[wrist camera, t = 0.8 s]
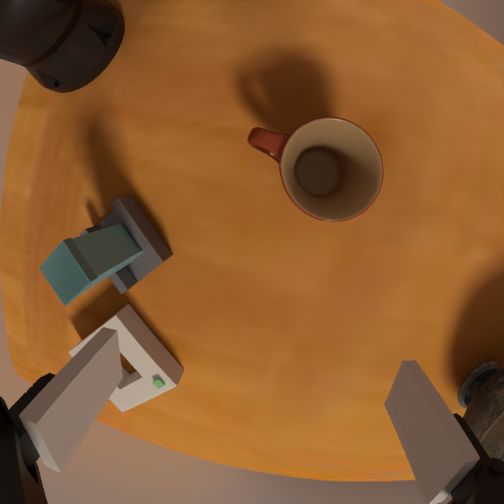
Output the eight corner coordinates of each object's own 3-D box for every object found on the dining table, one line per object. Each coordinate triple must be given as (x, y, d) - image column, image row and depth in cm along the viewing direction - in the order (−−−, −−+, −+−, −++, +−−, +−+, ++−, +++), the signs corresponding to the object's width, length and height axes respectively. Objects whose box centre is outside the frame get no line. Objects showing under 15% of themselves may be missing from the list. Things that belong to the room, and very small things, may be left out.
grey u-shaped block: (94, 230, 36) (79, 234, 33) (131, 195, 35) (117, 197, 32) (133, 285, 38) (121, 294, 34) (173, 254, 36) (163, 261, 33)
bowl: (529, 331, 36) (577, 368, 22) (490, 414, 41) (522, 458, 26) (461, 334, 37) (515, 386, 22) (418, 427, 41) (447, 487, 27)
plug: (109, 238, 36) (39, 267, 22) (131, 218, 35) (63, 240, 21) (128, 265, 36) (64, 306, 23) (150, 246, 36) (90, 281, 22)
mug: (363, 156, 33) (398, 148, 23) (333, 223, 35) (357, 239, 25) (269, 111, 32) (269, 83, 22) (237, 179, 34) (225, 177, 24)
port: (81, 340, 40) (66, 354, 36) (128, 303, 38) (113, 317, 34) (131, 397, 42) (121, 414, 38) (184, 369, 40) (175, 388, 36)
